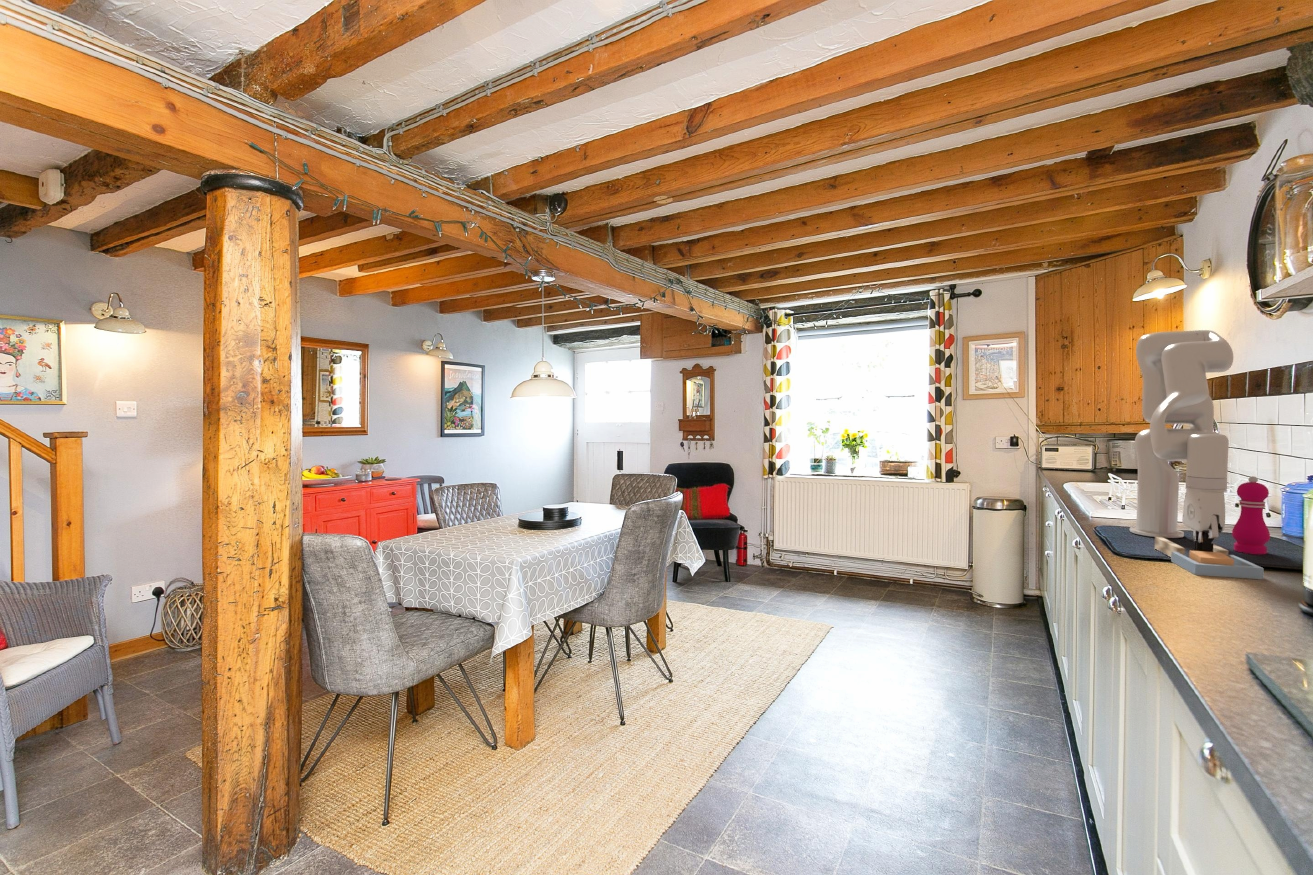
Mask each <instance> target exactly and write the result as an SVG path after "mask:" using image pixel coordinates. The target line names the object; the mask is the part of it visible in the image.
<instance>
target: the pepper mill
mask: <svg viewBox="0 0 1313 875" xmlns="http://www.w3.org/2000/svg"><path fill="white" fill-rule="evenodd" d="M1269 494H1270V493H1269V488H1268V487H1267V486H1265V485H1264V484H1262V483H1260V482H1259V479H1258V477H1257V476H1253V475H1252V476H1250V477H1249V478H1248V481H1247V482H1242V483H1241V484H1239V486H1237V489H1236V495H1237V496H1238V497H1239V498H1240V499H1239V500H1238V502H1239V503H1238V505H1239V507H1240V515H1239V517H1238V518H1237V521H1236V523H1235V525H1233V528H1232V530H1231V531H1232V532H1231V537H1233V539H1234V540H1235V541H1236V542H1234V543H1233V550H1234V551H1235V552H1239V553H1242V552H1243V553H1242V554H1248V553H1250V554H1249V555H1266V554H1267V553H1268V552H1267V551H1268V549H1267V548H1268V547H1267V546H1266V545H1265V544H1267V543H1268V542H1269V541H1270V540H1271V533H1270V531H1269V528H1268V526H1267V524H1266V522H1265V519H1264V515H1263V514H1264V512H1263V511H1264V508H1265V507H1266V503H1267V502H1266V501H1265V500H1266V499H1267V498H1269Z"/></svg>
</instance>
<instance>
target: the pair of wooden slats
mask: <svg viewBox="0 0 1313 875" xmlns="http://www.w3.org/2000/svg"><path fill="white" fill-rule="evenodd" d="M1194 541H1195V540H1194V539H1193V542H1194ZM1155 549H1157V550H1159V551H1161V552H1163V553H1164V554H1167V555H1168V556H1170V557H1171V554H1172V552H1178V553H1180V554H1182V555H1184V556H1186V548H1185V547H1183V546H1181V545H1179V544H1177V543H1175V542H1173V541H1171V540H1169V539H1168V538H1163V537H1154V550H1155ZM1213 552H1219V553H1223V554H1225V555H1226V556H1228V555H1229V552H1230V550H1228V549H1226V548H1224V547H1221V546H1219V545H1216V544H1215V543H1213Z"/></svg>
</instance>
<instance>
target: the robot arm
mask: <svg viewBox="0 0 1313 875" xmlns="http://www.w3.org/2000/svg"><path fill="white" fill-rule="evenodd" d="M1135 356H1136V361H1137V363H1138V366H1139V369H1140V371H1141V376H1142V400H1141V401H1142V402H1141V405H1142V406H1141V407H1142V408H1141V409H1142V411H1141V412H1142V417H1143V420H1145V422H1147V423H1149V428H1146V429H1144V430H1141V431H1140V432H1138V433H1137V434H1136V436H1135V438H1134V447H1135V453H1136V461H1137V492H1136V493H1137V494H1136V495H1137V496H1136V520H1135V522H1136V523H1135V524H1136V525H1133V526H1130V527H1129V531H1130V533H1133V534H1136V535H1139V536H1145V537H1151V538H1155V537H1163V538H1165V539H1179V538H1183V537H1185V536H1184V535H1185V532H1184V531H1182V530H1179V529H1178V520H1179V519H1178V517H1179V516H1178V515H1179V514H1178V513H1179V490H1180V489H1179V488H1180V476H1179V474H1178V472H1177V471H1176V469H1174V468H1173V466H1172V465H1170V463H1169V462H1186V463H1185V464H1186V465H1185V466H1186V469H1185V471H1186V472H1185V490H1186V491H1185V494H1184V499H1183V507H1182V508H1183V509H1182V524H1183V526H1185V527H1187V528H1189V529H1190V530H1191V531H1192V533H1193V534H1192V535H1193V551H1205V552H1213V544H1215V539H1219V536H1220V535H1219V534H1220V533H1222V532H1224V531H1225V528H1226V527H1225V526H1226V501H1225V499H1226V498H1225V493H1226V492H1227V491H1228V468H1229V444H1230V443H1229V442H1230V441H1229V438H1228V436H1227V435H1224V434H1220V433H1218V432H1215V431H1214V421H1215V418H1214V415H1215V414H1214V413H1215V410H1214V409H1215V408H1214V401H1213V399H1212V397H1211V395H1210V390H1209V384H1208V379H1207V374H1208V373H1210V374H1211V373H1223V372H1227V371H1229V370H1230V368H1231V367H1232V366H1233V363H1234V352H1233V349H1232V346H1231V344H1230V343H1229V342H1228V340H1226V339H1225V338H1223V336H1221V335H1220V334H1218V333H1217V332H1216V331H1213V330H1210V329H1209V330H1207V329H1205V330H1203V329H1202V330H1201V329H1200V330H1199V329H1198V330H1195V329H1194V330H1182V331H1181V330H1175V331H1158V332H1152V333H1151V332H1150V333H1147V334H1144V335H1142V336H1141V337H1140V338H1139V339H1138V340H1137V343H1136V346H1135ZM1167 424H1168V425H1188V426H1189V428H1169V427H1168V428H1167V426H1166V425H1167ZM1194 540H1195V541H1194Z"/></svg>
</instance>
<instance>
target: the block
mask: <svg viewBox="0 0 1313 875" xmlns="http://www.w3.org/2000/svg"><path fill="white" fill-rule="evenodd" d="M1188 554H1189V555H1188V556H1189V557H1188V558H1190V559H1192V560H1194V561H1196V562H1198V563H1203V564H1219V565H1234V559H1232V558H1230V557H1228V556H1226V555H1225V554H1223V553H1219V552H1205V551H1194V550H1189V552H1188Z"/></svg>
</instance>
